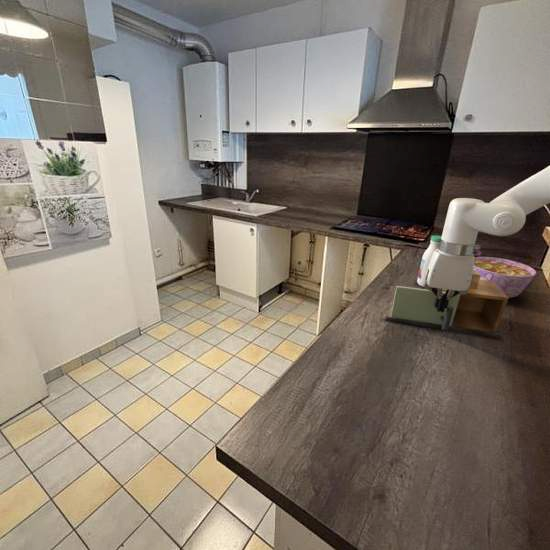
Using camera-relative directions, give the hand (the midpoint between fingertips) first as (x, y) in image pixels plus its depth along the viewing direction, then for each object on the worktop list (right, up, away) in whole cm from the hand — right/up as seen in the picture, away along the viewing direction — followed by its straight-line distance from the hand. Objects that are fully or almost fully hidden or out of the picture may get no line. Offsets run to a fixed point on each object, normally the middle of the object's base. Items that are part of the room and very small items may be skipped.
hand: (439, 309), depth 82 cm
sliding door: (-2, -6, +6) cm, 9 cm away
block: (+12, +7, +7) cm, 16 cm away
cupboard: (+6, -4, +12) cm, 14 cm away
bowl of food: (+36, +2, +28) cm, 45 cm away
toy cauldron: (+43, +14, +57) cm, 73 cm away
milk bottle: (+15, +6, +36) cm, 39 cm away
